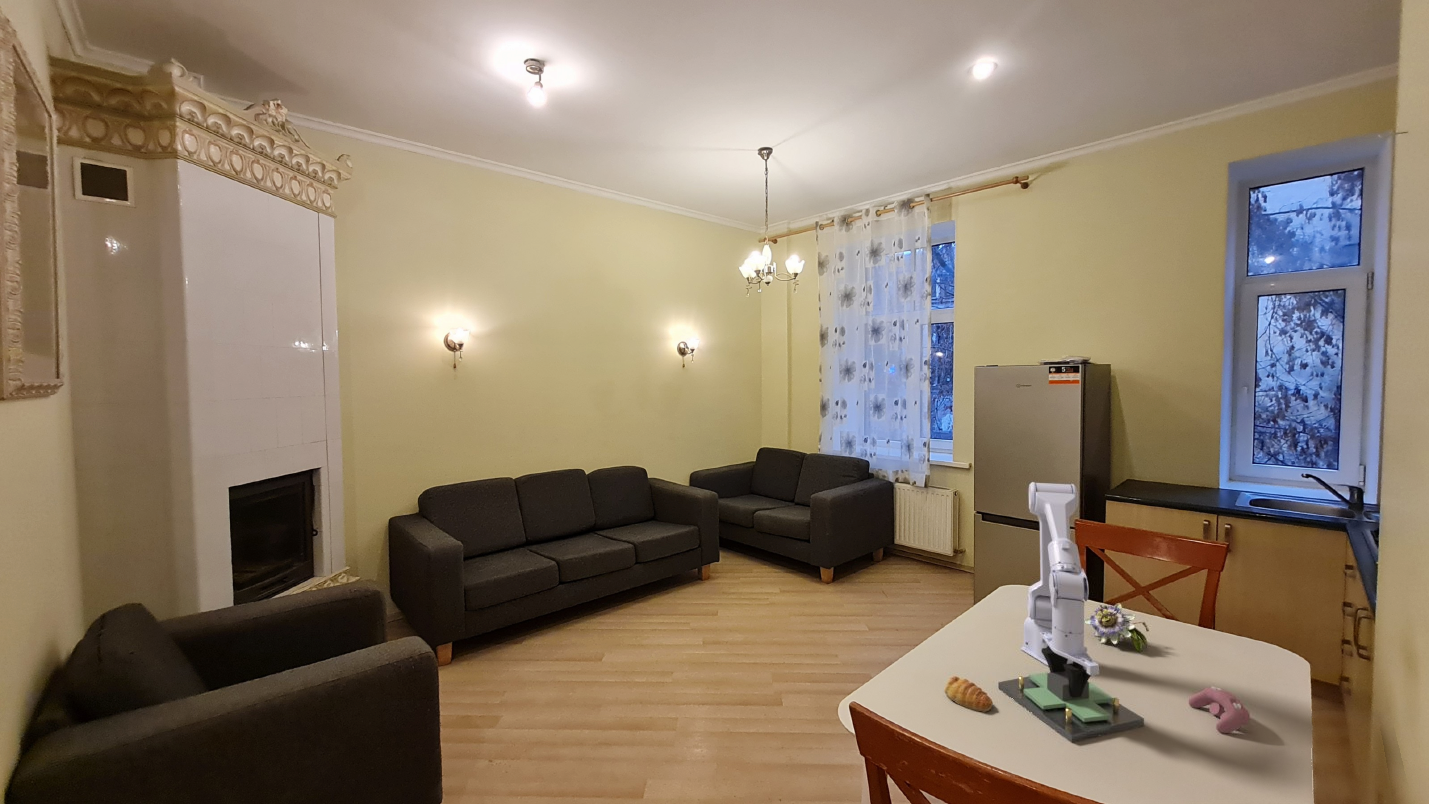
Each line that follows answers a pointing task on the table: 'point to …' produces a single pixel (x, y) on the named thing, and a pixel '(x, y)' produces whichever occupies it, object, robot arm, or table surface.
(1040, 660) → the robot arm
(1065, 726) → the chassis
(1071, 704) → the board
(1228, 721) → the video game controller
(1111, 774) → the table surface
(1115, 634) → the passion flower
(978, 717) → the table surface
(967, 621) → the table surface
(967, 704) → the pastry
